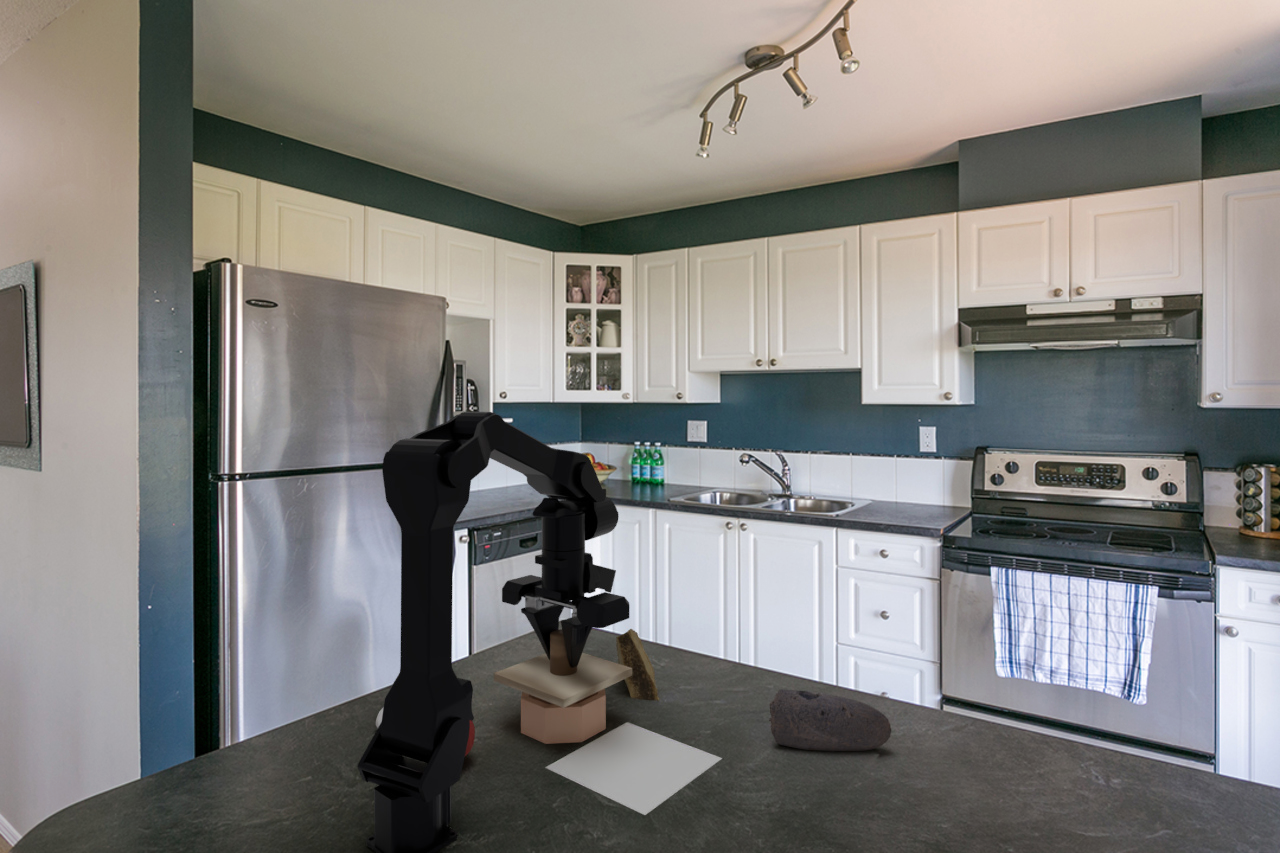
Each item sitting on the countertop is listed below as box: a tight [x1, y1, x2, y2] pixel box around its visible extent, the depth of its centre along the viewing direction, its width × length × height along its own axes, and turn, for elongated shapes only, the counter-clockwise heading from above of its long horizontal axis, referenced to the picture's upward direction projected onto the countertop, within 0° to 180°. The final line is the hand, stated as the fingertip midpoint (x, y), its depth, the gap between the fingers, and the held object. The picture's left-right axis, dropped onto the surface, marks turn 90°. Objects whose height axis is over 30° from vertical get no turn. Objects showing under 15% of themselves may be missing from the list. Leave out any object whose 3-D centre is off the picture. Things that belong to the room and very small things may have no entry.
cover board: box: [493, 628, 632, 708], centre depth 94 cm, size 13×13×6 cm
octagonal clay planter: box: [520, 688, 607, 745], centre depth 94 cm, size 11×11×5 cm
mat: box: [544, 721, 723, 816], centre depth 84 cm, size 15×15×1 cm
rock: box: [615, 628, 660, 701], centre depth 107 cm, size 11×9×10 cm
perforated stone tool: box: [768, 688, 892, 752], centre depth 89 cm, size 15×5×7 cm, turn 81°
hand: (563, 663), depth 94 cm, fingers closed on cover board, 4 cm apart
